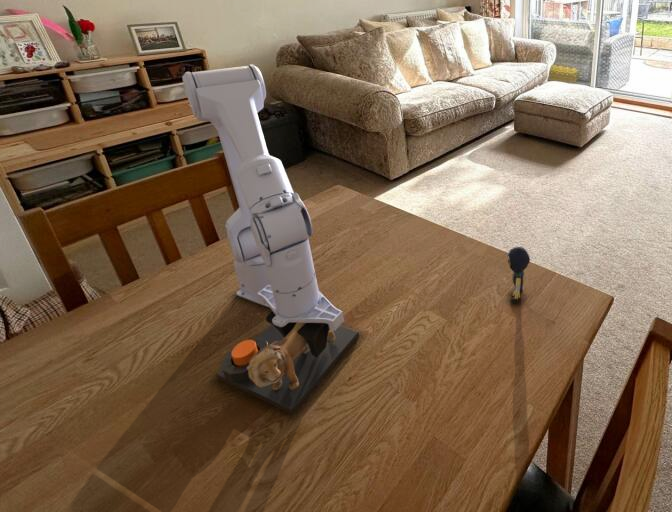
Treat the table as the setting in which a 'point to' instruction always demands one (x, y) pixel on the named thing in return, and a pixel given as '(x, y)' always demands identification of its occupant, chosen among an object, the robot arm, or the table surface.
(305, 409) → the table surface
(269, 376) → the lion figurine
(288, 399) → the scale
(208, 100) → the robot arm
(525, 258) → the character figure
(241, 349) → the button
